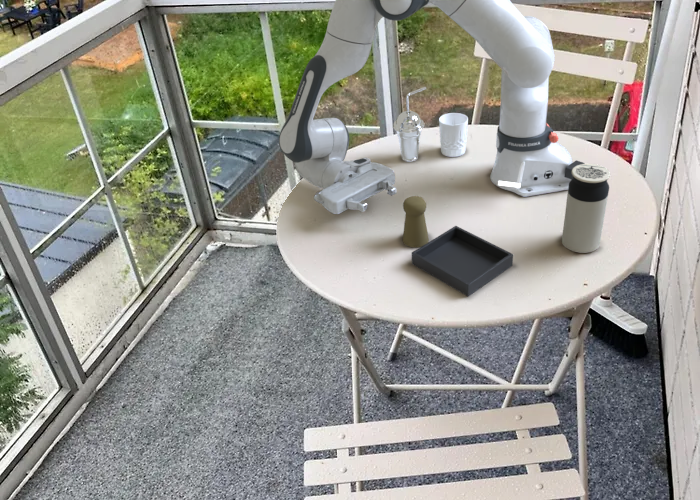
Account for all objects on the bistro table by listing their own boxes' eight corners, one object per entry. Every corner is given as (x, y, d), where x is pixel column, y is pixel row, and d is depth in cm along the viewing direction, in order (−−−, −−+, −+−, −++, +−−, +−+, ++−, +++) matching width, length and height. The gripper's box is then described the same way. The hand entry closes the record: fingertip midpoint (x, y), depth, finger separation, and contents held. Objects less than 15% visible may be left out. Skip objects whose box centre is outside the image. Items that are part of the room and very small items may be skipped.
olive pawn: (411, 250, 148) (410, 209, 142) (397, 237, 152) (395, 197, 146) (434, 241, 150) (433, 200, 144) (419, 229, 154) (418, 189, 148)
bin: (411, 264, 144) (411, 252, 142) (455, 236, 151) (455, 225, 149) (468, 296, 133) (468, 284, 132) (512, 265, 140) (513, 254, 139)
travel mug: (593, 257, 140) (605, 184, 130) (556, 248, 144) (565, 177, 133) (603, 238, 145) (616, 166, 135) (567, 229, 149) (577, 159, 139)
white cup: (466, 144, 187) (467, 112, 181) (468, 157, 181) (468, 124, 175) (438, 145, 188) (438, 113, 182) (439, 158, 182) (439, 125, 176)
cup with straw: (397, 150, 188) (393, 83, 176) (428, 151, 186) (427, 83, 174) (392, 164, 181) (389, 96, 169) (425, 165, 179) (423, 96, 168)
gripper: (308, 185, 157) (345, 206, 148) (371, 154, 167) (409, 172, 158) (311, 207, 161) (347, 229, 152) (373, 176, 171) (410, 194, 162)
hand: (379, 199), depth 155 cm, fingers open, 8 cm apart
